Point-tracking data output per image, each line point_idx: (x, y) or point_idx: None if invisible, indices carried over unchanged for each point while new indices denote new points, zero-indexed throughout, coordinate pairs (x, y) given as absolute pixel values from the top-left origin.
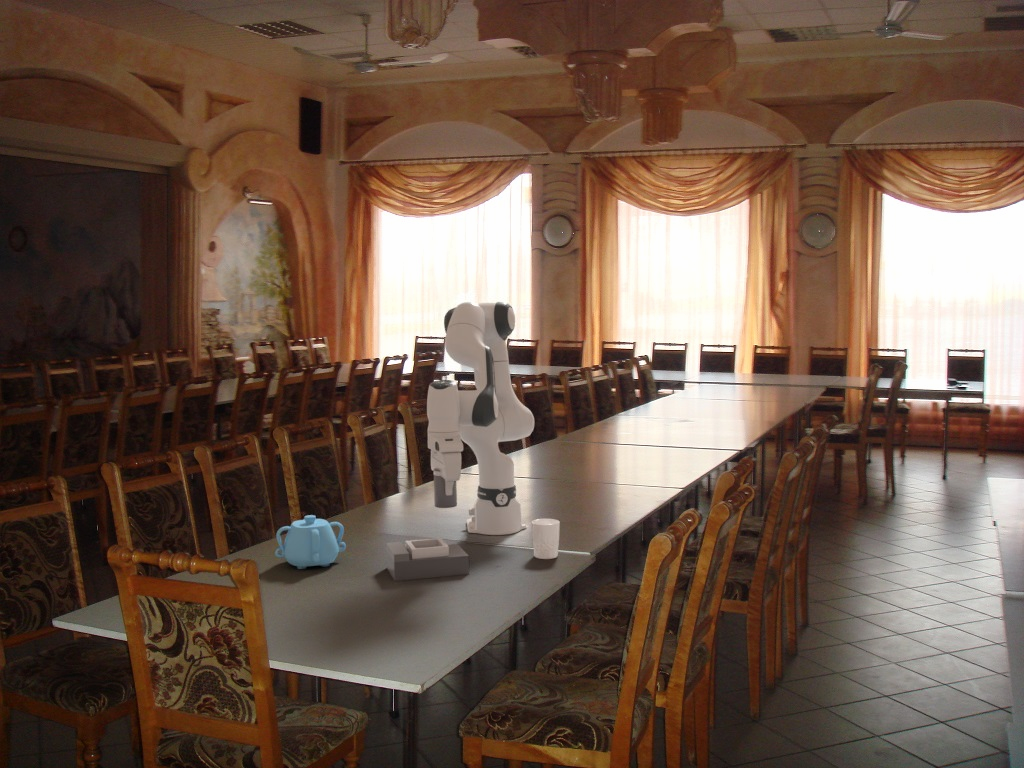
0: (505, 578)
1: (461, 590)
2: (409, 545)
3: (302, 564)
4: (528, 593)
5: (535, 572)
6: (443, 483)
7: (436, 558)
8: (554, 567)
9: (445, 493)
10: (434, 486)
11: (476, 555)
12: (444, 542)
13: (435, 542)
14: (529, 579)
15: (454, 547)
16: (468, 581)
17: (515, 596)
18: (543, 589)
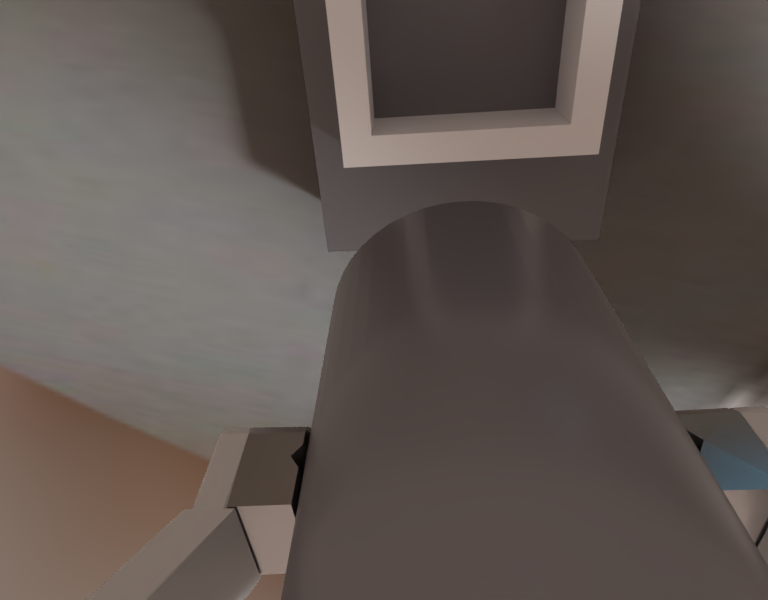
0: (248, 328)
1: (73, 130)
2: None
3: None
4: (51, 357)
5: (310, 424)
6: (286, 578)
7: (301, 58)
8: None
9: (247, 436)
10: (499, 388)
11: (635, 292)
12: (463, 158)
13: (566, 102)
14: (225, 393)
15: (529, 210)
16: (219, 186)
17: (9, 314)
18: (102, 404)
